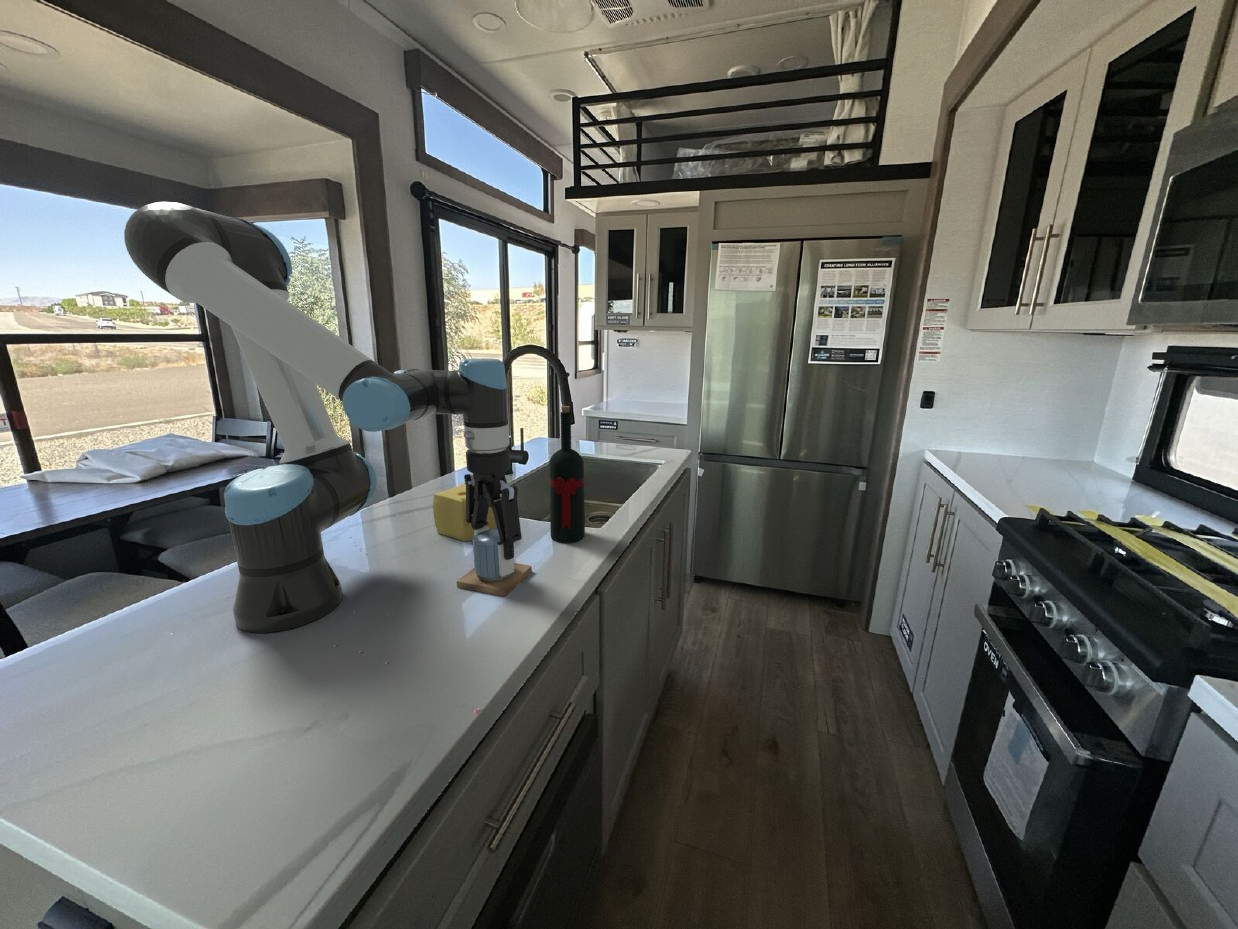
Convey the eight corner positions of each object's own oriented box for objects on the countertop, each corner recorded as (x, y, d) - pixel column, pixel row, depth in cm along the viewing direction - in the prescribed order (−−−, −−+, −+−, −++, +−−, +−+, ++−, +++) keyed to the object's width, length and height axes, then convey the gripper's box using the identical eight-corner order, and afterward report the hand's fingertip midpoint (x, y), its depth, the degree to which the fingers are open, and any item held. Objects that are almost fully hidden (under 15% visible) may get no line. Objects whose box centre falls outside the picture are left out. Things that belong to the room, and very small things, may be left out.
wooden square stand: (457, 587, 90) (454, 553, 88) (487, 563, 99) (485, 532, 97) (504, 596, 86) (502, 561, 85) (531, 571, 96) (530, 539, 94)
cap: (471, 578, 88) (469, 545, 86) (478, 560, 95) (476, 529, 93) (511, 576, 89) (510, 544, 87) (515, 559, 96) (514, 528, 94)
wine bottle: (548, 548, 106) (544, 411, 98) (551, 529, 116) (548, 403, 108) (584, 547, 107) (583, 411, 99) (585, 529, 116) (584, 404, 109)
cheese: (499, 528, 117) (497, 488, 114) (464, 544, 108) (460, 501, 105) (470, 519, 122) (467, 481, 119) (433, 533, 113) (429, 492, 111)
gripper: (439, 442, 90) (449, 556, 96) (502, 462, 77) (509, 593, 83) (476, 436, 95) (483, 545, 101) (540, 454, 82) (544, 577, 88)
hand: (494, 566), depth 92 cm, fingers closed on cap, 7 cm apart
